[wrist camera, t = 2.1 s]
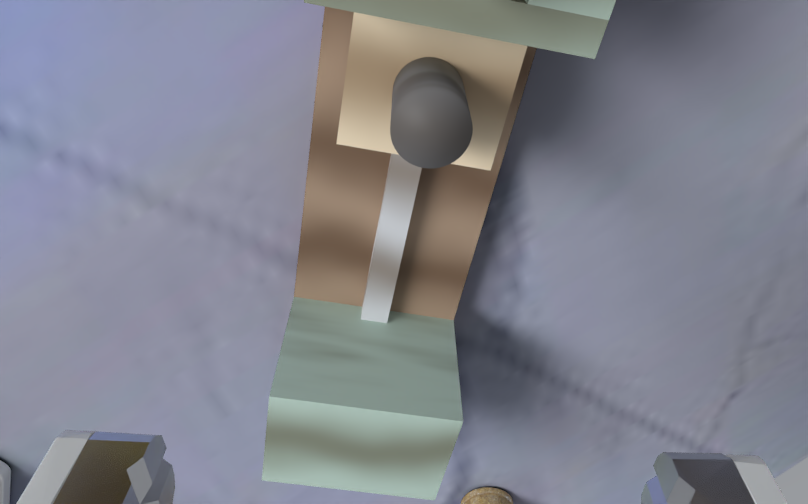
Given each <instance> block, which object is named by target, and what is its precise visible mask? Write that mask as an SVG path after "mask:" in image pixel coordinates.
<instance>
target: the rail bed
mask: <svg viewBox="0 0 808 504" xmlns="http://www.w3.org/2000/svg"><path fill="white" fill-rule="evenodd" d="M304 2H305V3H310V4H315V5H320V6H325V11H324V21H323V30H322V39H321V49H320V58H319V67H318V77H317V86H316V96H315V105H314V114H313V124H312V133H311V142H310V152H309V161H308V171H307V180H306V189H305V199H304V208H303V217H302V227H301V236H300V245H299V255H298V264H297V274H296V283H295V292H294V299H293V303H292V307H291V311H290V315H289V319H288V323H287V327H286V331H285V335H284V339H283V343H282V347H281V351H280V355H279V359H278V363H277V367H276V371H275V375H274V379H273V383H272V387H271V392H270V396H269V405H268V417H267V428H266V440H265V451H264V462H263V474H262V480H263V481H272V482H281V483H289V484H298V485H307V486H315V487H324V488H332V489H341V490H350V491H358V492H367V493H376V494H384V495H393V496H402V497H410V498H419V499H428V500H435V498H436V495H437V493H438V490H439V487H440V484H441V482H442V479H443V476H444V473H445V471H446V468H447V465H448V462H449V460H450V457H451V454H452V451H453V449H454V446H455V443H456V440H457V438H458V435H459V432H460V429H461V427H462V424H463V413H462V403H461V392H460V382H459V372H458V361H457V351H456V340H455V330H454V317H455V314H456V311H457V307H458V304H459V301H460V297H461V294H462V291H463V288H464V284H465V281H466V278H467V275H468V271H469V268H470V265H471V261H472V258H473V255H474V252H475V248H476V245H477V242H478V239H479V235H480V232H481V229H482V226H483V222H484V219H485V216H486V212H487V209H488V206H489V203H490V199H491V196H492V193H493V190H494V186H495V183H496V180H497V176H498V173H499V170H500V167H501V163H502V160H503V157H504V154H505V150H506V147H507V144H508V140H509V137H510V134H511V131H512V127H513V124H514V121H515V118H516V114H517V111H518V108H519V104H520V101H521V98H522V95H523V91H524V88H525V85H526V82H527V78H528V75H529V72H530V69H531V65H532V62H533V59H534V55H535V52H536V49H537V48H540V49H546V50H551V51H556V52H561V53H566V54H571V55H576V56H581V57H587V58H592V59H595V57H596V54H597V52H598V49H599V46H600V43H601V41H602V38H603V35H604V32H605V30H606V27H607V24H608V21H609V19H610V16H611V13H612V10H613V8H614V5H615V2H616V0H304ZM354 12H356V13H361V14H366V15H371V16H377V17H382V18H387V19H392V20H397V21H402V22H407V23H412V24H418V25H423V26H428V27H433V28H438V29H443V30H448V31H453V32H458V33H464V34H469V35H474V36H479V37H484V38H489V39H494V40H499V41H505V42H510V43H515V44H520V45H525V46H527V49H526V53H525V56H524V60H523V63H522V66H521V70H520V73H519V76H518V80H517V83H516V87H515V90H514V93H513V97H512V100H511V103H510V107H509V110H508V114H507V117H506V120H505V124H504V127H503V130H502V134H501V137H500V140H499V144H498V147H497V151H496V154H495V157H494V161H493V164H492V167H491V171H490V170H484V169H478V168H472V167H467V166H461V165H455V164H449V165H446V166H444V167H440V168H421V167H417V166H415V165H412V164H410V163H409V162H407V161H406V160H404V159H403V158H402V157H401V156H400V155H397V154H391V153H386V152H380V151H374V150H368V149H362V148H357V147H351V146H345V145H339V144H336V143H337V135H338V128H339V120H340V113H341V105H342V98H343V90H344V83H345V75H346V68H347V60H348V53H349V45H350V38H351V30H352V23H353V15H354Z"/></svg>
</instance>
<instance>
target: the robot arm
mask: <svg viewBox="0 0 808 504" xmlns="http://www.w3.org/2000/svg"><path fill="white" fill-rule="evenodd" d="M165 451H166V445H165V443H164V440H163V437H162V435H147V434H129V433H112V432H97V431H72V430H65V431H64V432H63V433H61V434H60V435H59V436H58V437H57V438H56V439H55V440H54V442H53V443H52V445H51V447H50V448H49V450H48V452H47V453H46V455H45V457H44V458H43V460H42V462H41V463H40V465H39V467H38V468H37V470H36V472H35V473H34V475H33V477H32V478H31V480H30V482H29V483H28V485H27V487H26V488H25V490H24V492H23V493H22V495H21V497H20V498H19V500H18V502H17V503H16V504H172V502H173V496H174V490H175V478H174V472H173V468H172V465H171V464H169V463H168V462H167V461H165V460H164V459H163V456H164V453H165ZM653 466H654V469H655V471H656V474H657V476H655V477H654V478H652V479H651V480H649V481H647V482H646V484H645V487H644V489H643V492H642V495H641V504H788V503H787V501H786V499H785V497H784V495H783V494H782V492H781V490H780V488H779V487H778V485H777V483H776V481H775V479H774V478H773V476H772V474H771V472H770V470H769V469H768V467H767V465H766V463H765V462H764V461H763V460H762V459H761V458H760V457H759V456H755V455H723V454H721V453H676V452H663V453H662V454H660V455H659V456H658V457H657V459H656V461H655V463H654V465H653ZM10 483H11V469H10V467H9V466H8V465H7V464H5V463H4V462H2V461H1V460H0V504H10Z"/></svg>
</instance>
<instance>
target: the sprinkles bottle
mask: <svg viewBox="0 0 808 504" xmlns="http://www.w3.org/2000/svg"><path fill="white" fill-rule="evenodd" d="M461 504H513V500H512V498H511V496H510V495H509V494H508V493H507V492H505V491H503V490H501V489H498V488H492V487H482V488H479V489H474V490H472V491H470V492H469V493H467V494H466V495H465V496H464V497H463V499H462V501H461Z"/></svg>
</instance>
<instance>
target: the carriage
mask: <svg viewBox="0 0 808 504" xmlns="http://www.w3.org/2000/svg"><path fill="white" fill-rule="evenodd" d="M526 49H527V46H525V45H520V44H515V43H510V42H505V41H499V40H494V39H489V38H484V37H479V36H474V35H469V34H464V33H458V32H453V31H448V30H443V29H438V28H433V27H428V26H423V25H418V24H412V23H407V22H402V21H397V20H392V19H387V18H382V17H377V16H371V15H366V14H361V13H356V12H354V15H353V23H352V30H351V38H350V45H349V53H348V60H347V68H346V75H345V83H344V90H343V98H342V105H341V113H340V120H339V128H338V135H337V143H336V144H339V145H345V146H351V147H357V148H362V149H368V150H374V151H380V152H386V153H391V154H397V155H400V156H401V157H402V158H403V159H404V160H406V161H407V162H409V163H410V164H412V165H415V166H417V167H421V168H440V167H444V166H446V165H449V164H455V165H461V166H467V167H472V168H478V169H484V170H490V171H491V167H492V164H493V161H494V157H495V154H496V151H497V147H498V144H499V140H500V137H501V134H502V130H503V127H504V124H505V120H506V117H507V114H508V110H509V107H510V103H511V100H512V97H513V93H514V90H515V87H516V83H517V80H518V76H519V73H520V70H521V66H522V63H523V60H524V56H525V53H526Z"/></svg>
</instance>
